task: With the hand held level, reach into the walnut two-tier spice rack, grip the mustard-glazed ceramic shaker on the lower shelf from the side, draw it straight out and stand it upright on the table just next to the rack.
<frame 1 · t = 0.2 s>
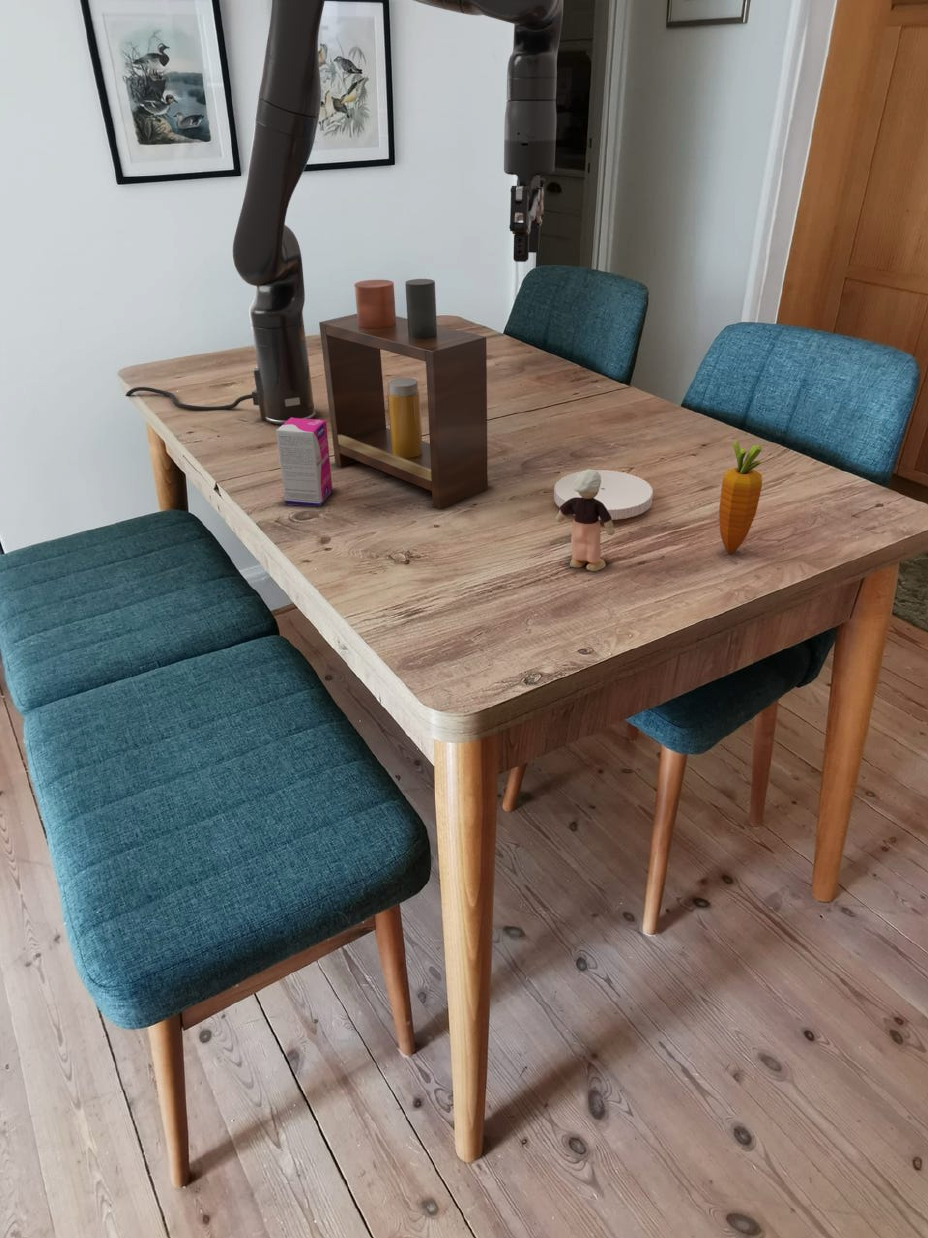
hand: (526, 256, 130), 29 cm above the table, tool pointing down, fingers open, 8 cm apart
spice rack: (408, 476, 131), on the table
shaker: (407, 452, 129), point 4 cm above the table, touching spice rack
carrot: (729, 554, 107), on the table
plastic lid: (601, 506, 121), on the table
supplement box: (310, 499, 125), on the table
grandmother figurine: (582, 564, 106), on the table
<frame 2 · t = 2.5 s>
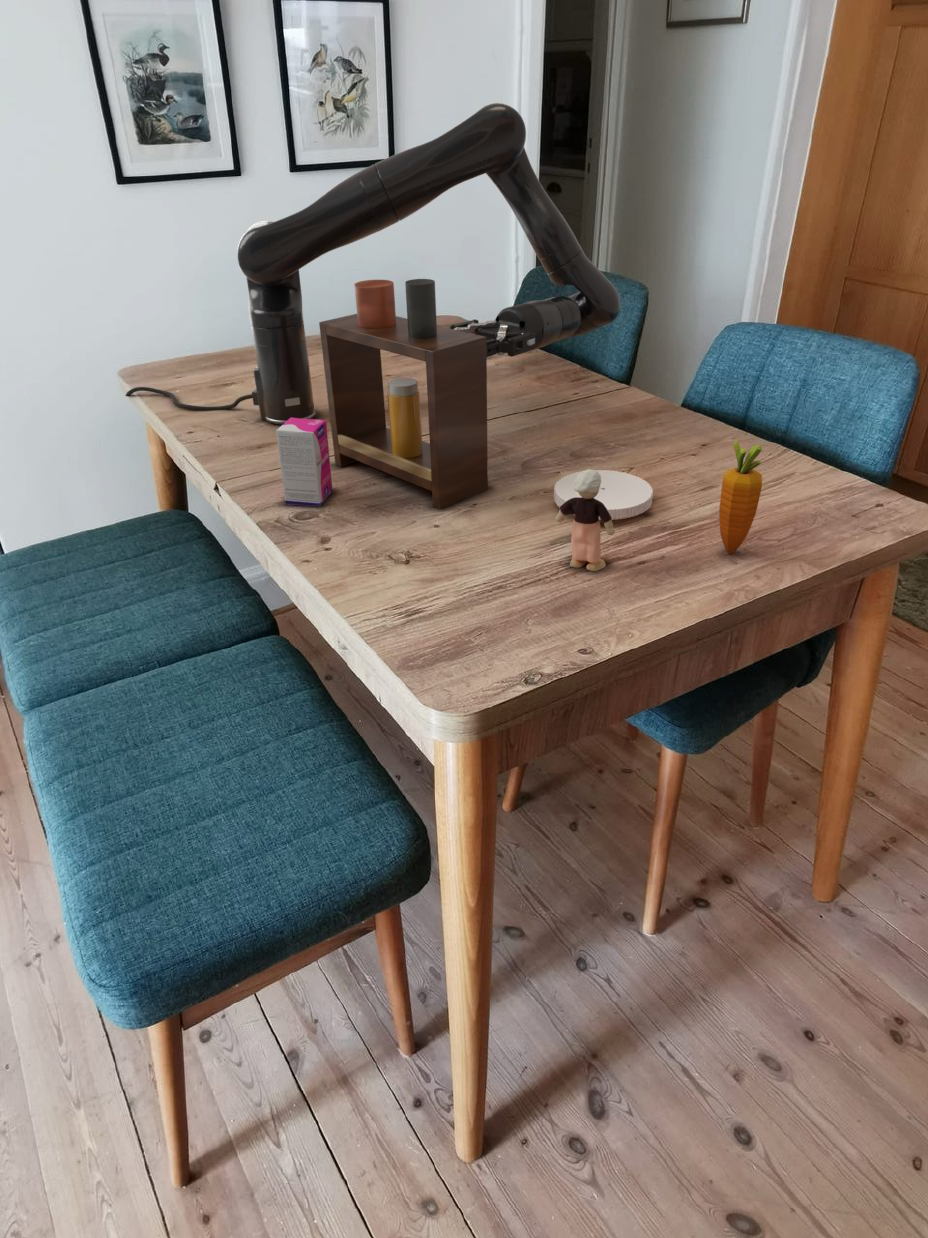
hand: (458, 346, 128), 18 cm above the table, tool horizontal, fingers open, 8 cm apart
nothing on the table moved.
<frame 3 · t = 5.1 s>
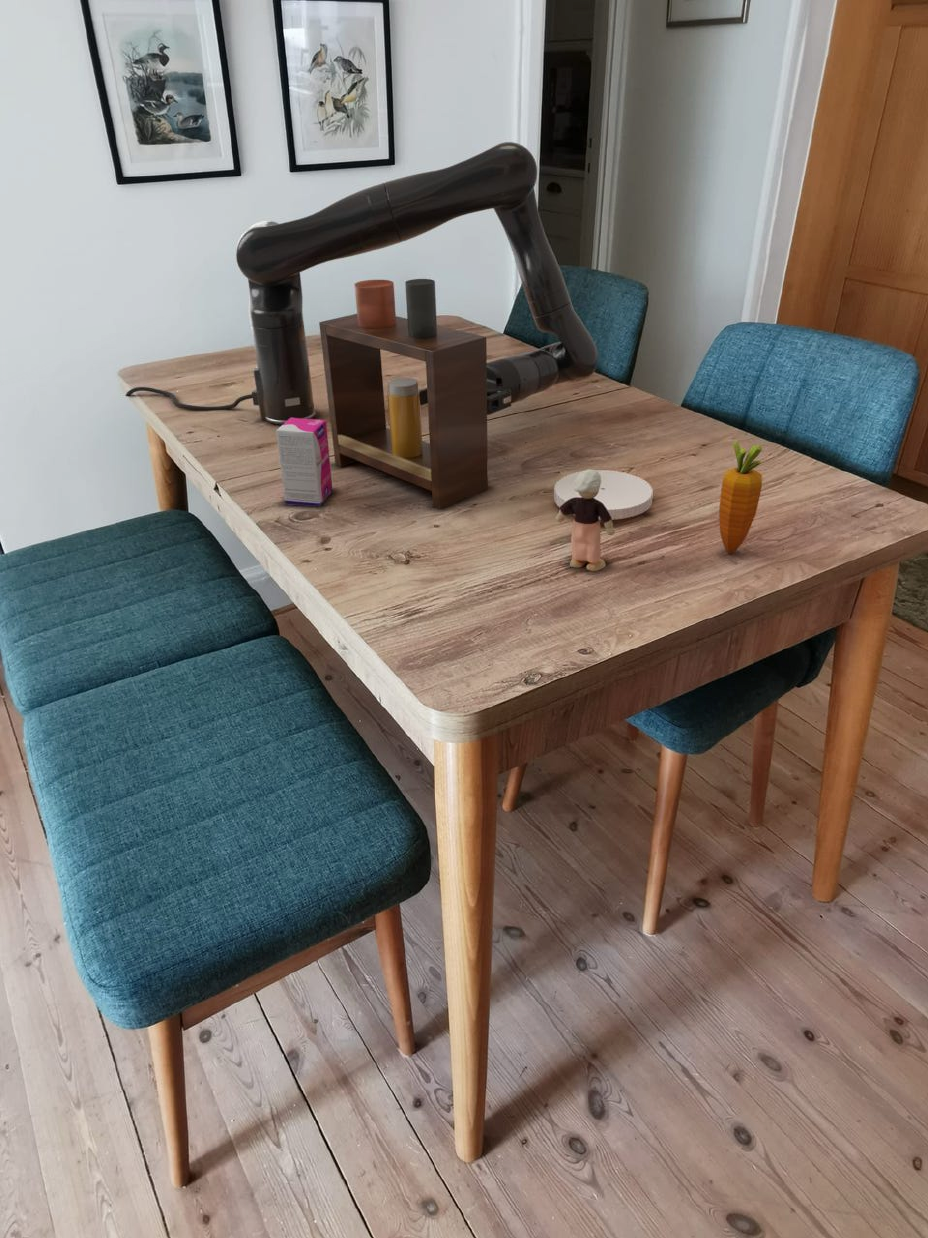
hand: (435, 404, 129), 10 cm above the table, tool horizontal, fingers open, 8 cm apart
nothing on the table moved.
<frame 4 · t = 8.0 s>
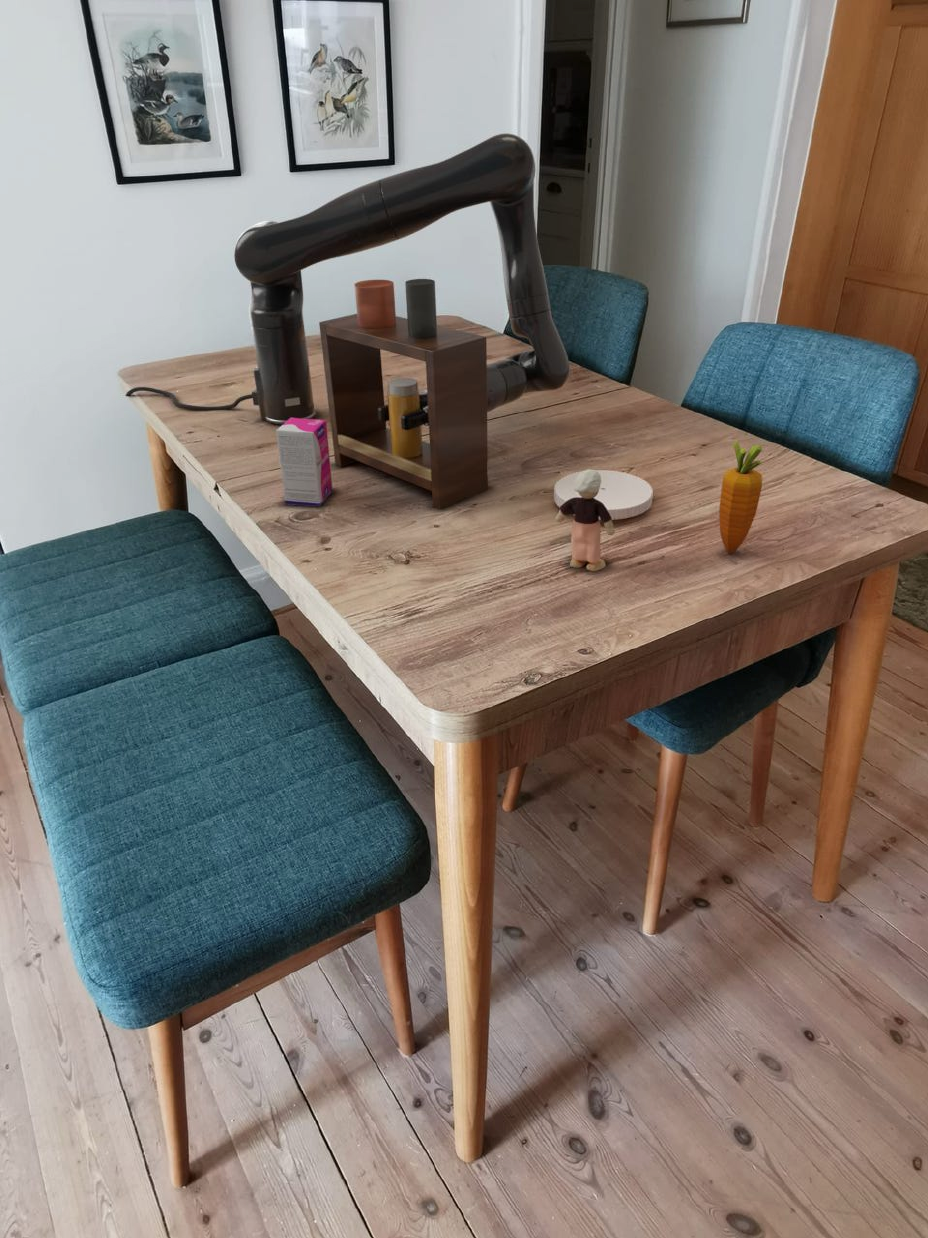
hand: (391, 419, 124), 10 cm above the table, tool horizontal, fingers closed on shaker, 4 cm apart
shaker: (407, 452, 129), point 4 cm above the table, touching gripper, spice rack
everything else where it was.
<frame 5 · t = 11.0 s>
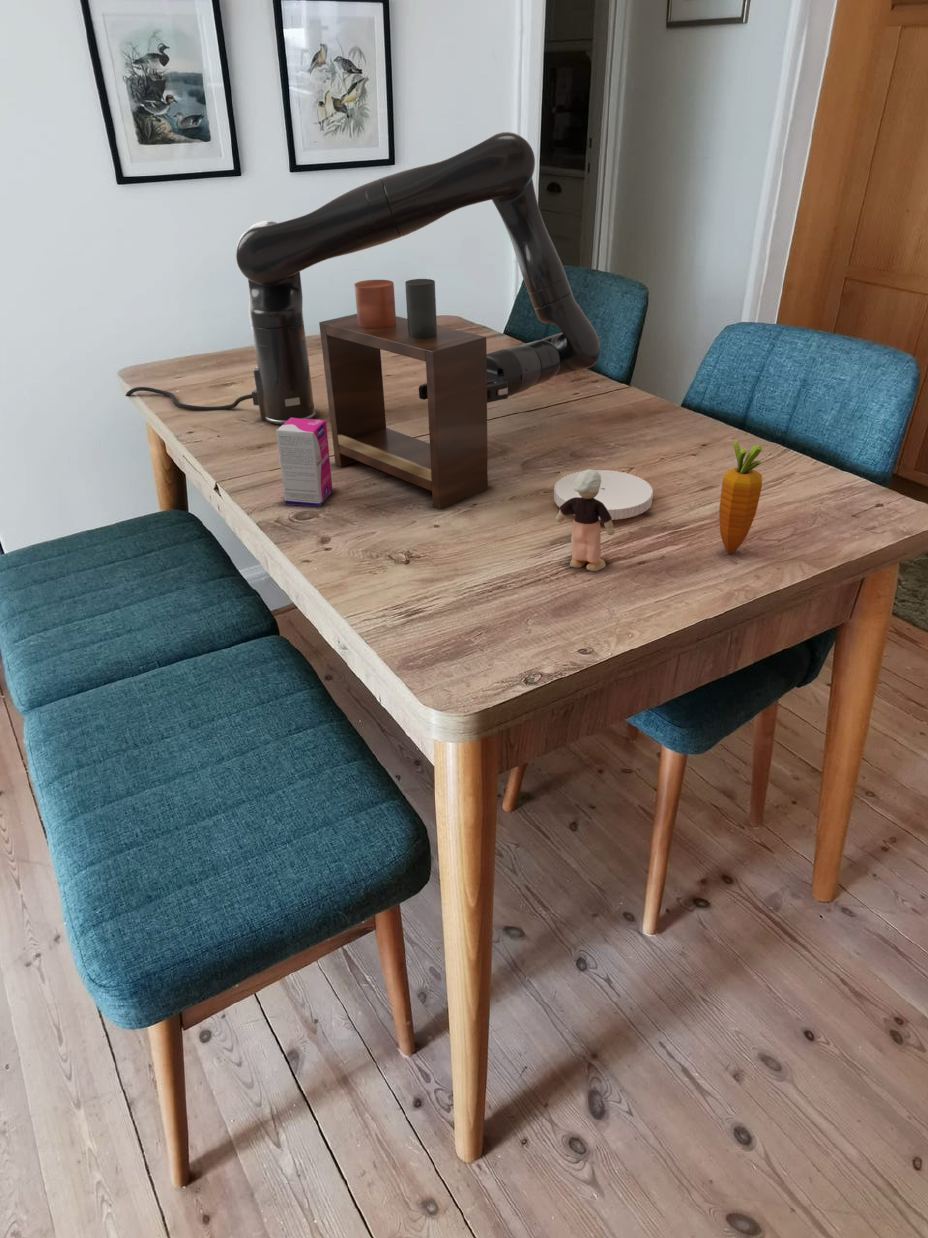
hand: (432, 396, 128), 11 cm above the table, tool horizontal, fingers closed on shaker, 4 cm apart
shaker: (446, 429, 133), point 5 cm above the table, touching gripper
everything else where it was.
when the fingers open (6 cm above the table, at t = 14.2 s): shaker stays where it is, on the table.
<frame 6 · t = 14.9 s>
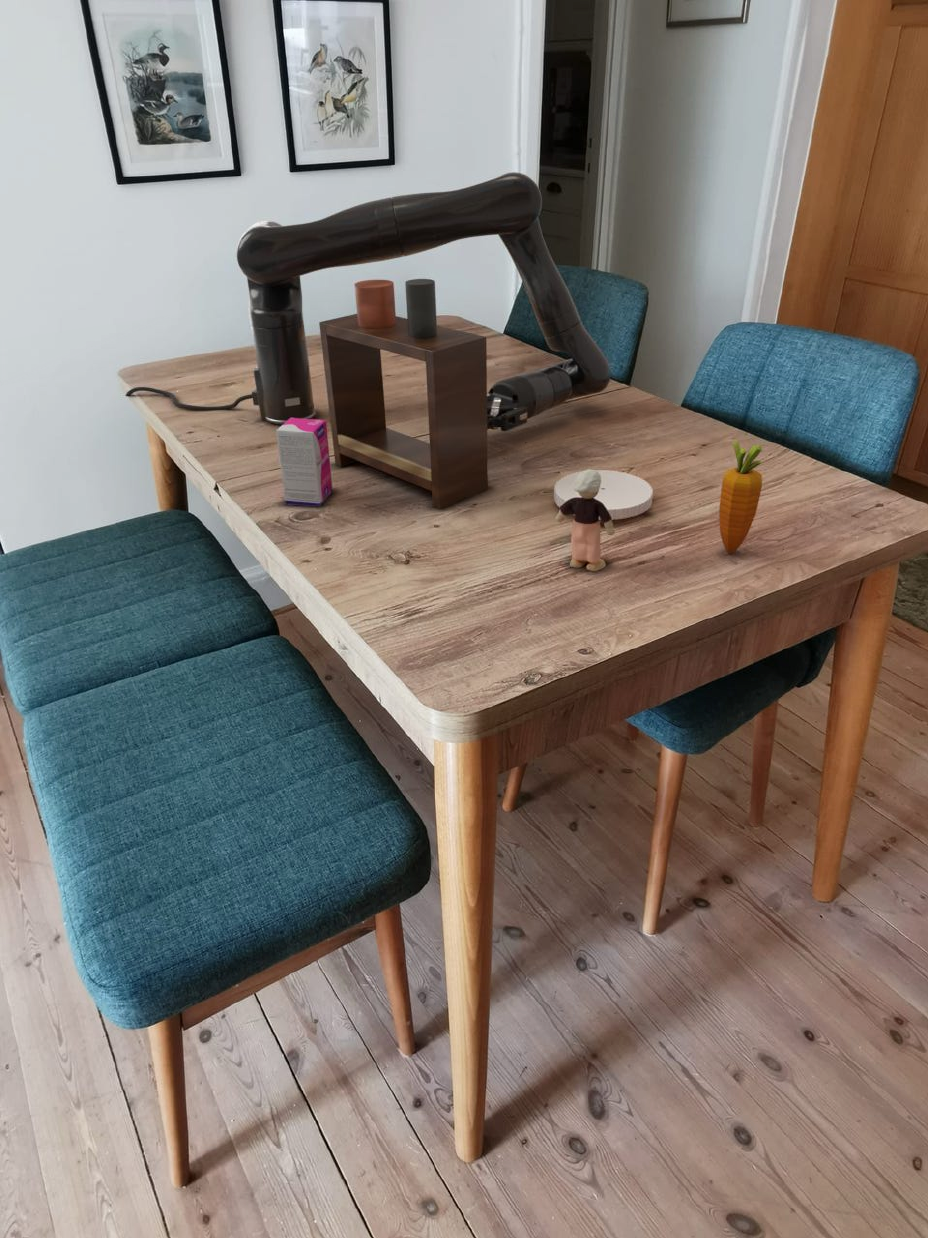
hand: (453, 421, 134), 6 cm above the table, tool horizontal, fingers open, 8 cm apart
shaker: (463, 455, 138), on the table
everything else where it was.
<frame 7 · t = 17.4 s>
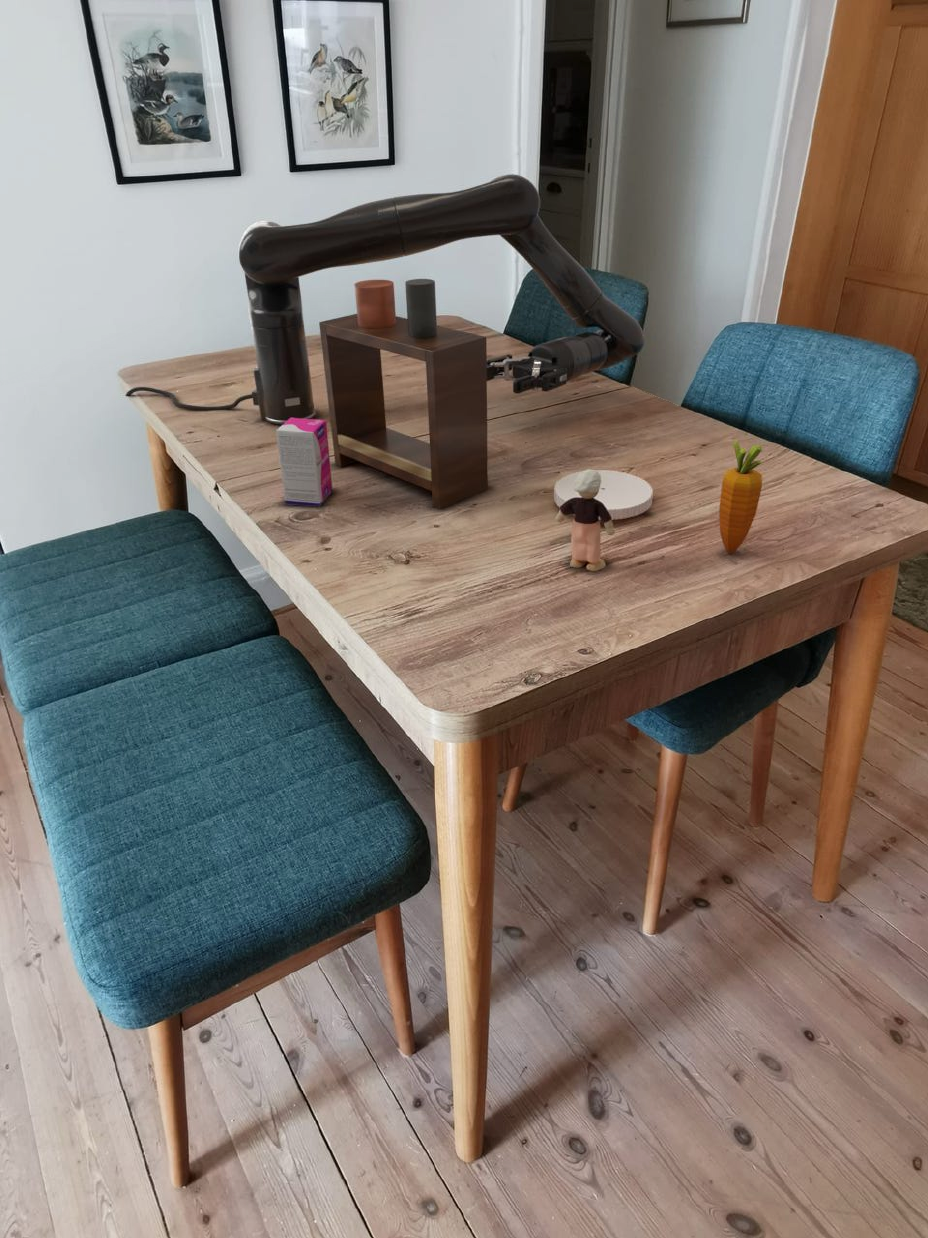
hand: (495, 381, 137), 10 cm above the table, tool horizontal, fingers open, 8 cm apart
nothing on the table moved.
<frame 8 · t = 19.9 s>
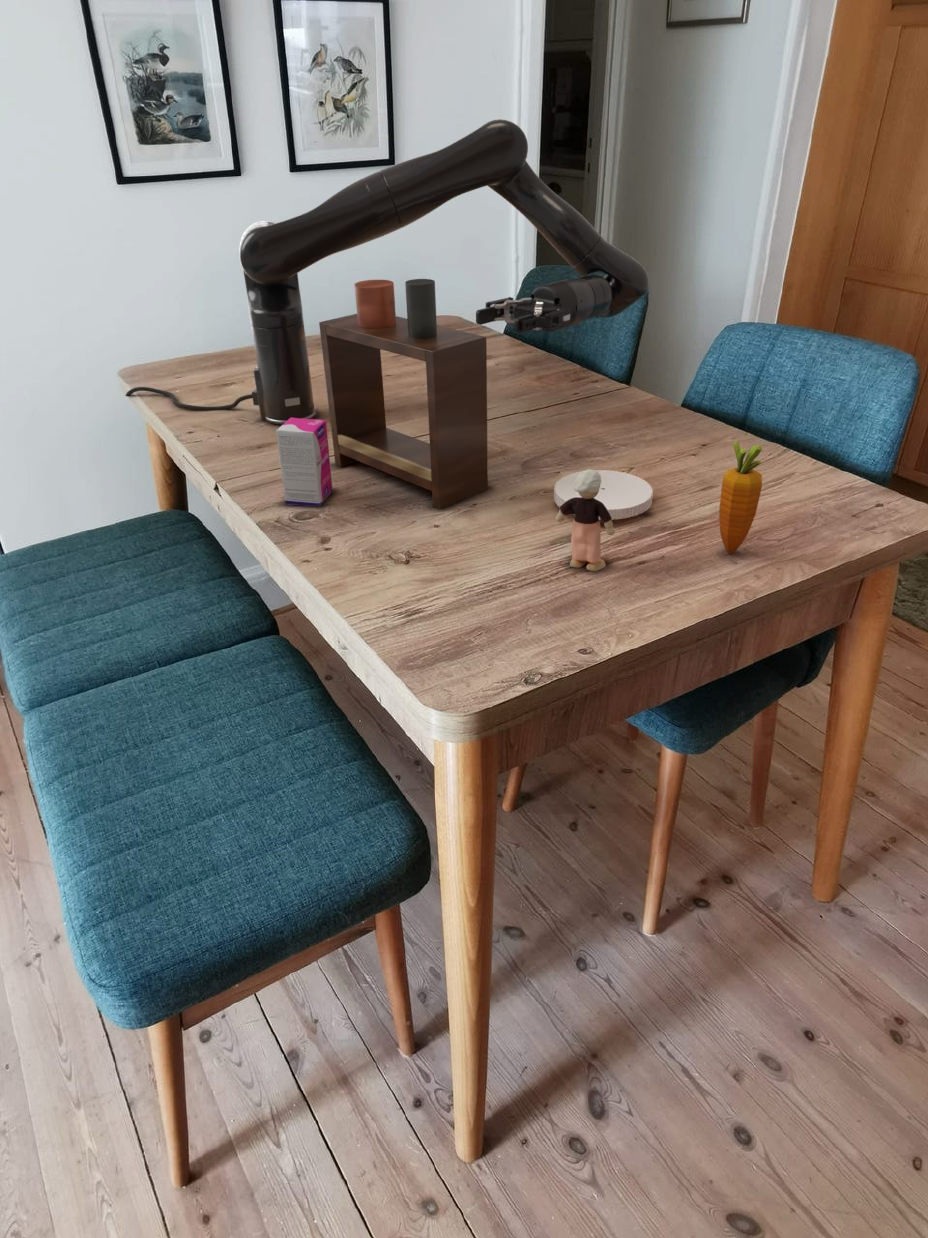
hand: (496, 321, 132), 20 cm above the table, tool horizontal, fingers open, 8 cm apart
nothing on the table moved.
at the end: shaker inside the target area (0.4 cm from its centre), on the table; shaker tilted 0°; the gripper is holding nothing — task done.
